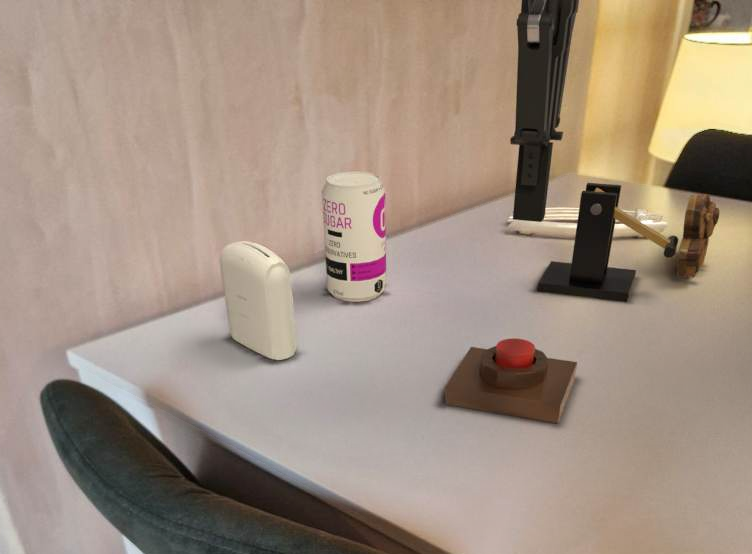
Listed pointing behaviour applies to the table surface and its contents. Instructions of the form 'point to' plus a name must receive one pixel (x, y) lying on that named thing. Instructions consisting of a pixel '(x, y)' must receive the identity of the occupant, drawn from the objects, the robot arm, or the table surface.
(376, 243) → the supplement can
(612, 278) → the bracket
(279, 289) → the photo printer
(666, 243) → the lever
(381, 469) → the table surface
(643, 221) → the white piece
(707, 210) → the wooden carving
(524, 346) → the button
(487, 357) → the button block
